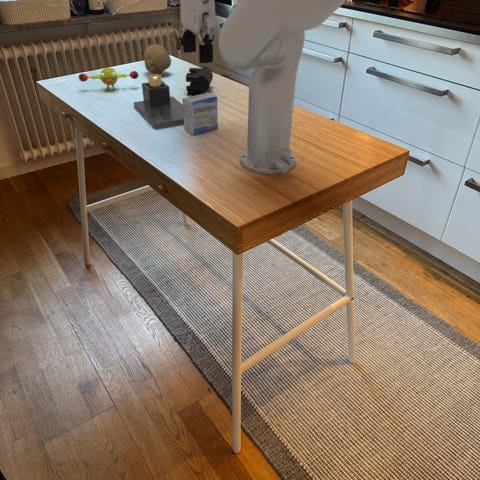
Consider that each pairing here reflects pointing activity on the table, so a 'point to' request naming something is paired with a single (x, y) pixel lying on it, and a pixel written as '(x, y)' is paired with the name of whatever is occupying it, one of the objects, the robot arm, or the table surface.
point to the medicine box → (200, 113)
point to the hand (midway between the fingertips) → (197, 57)
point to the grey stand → (160, 107)
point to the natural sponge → (156, 59)
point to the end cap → (198, 80)
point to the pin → (154, 81)
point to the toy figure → (108, 77)
